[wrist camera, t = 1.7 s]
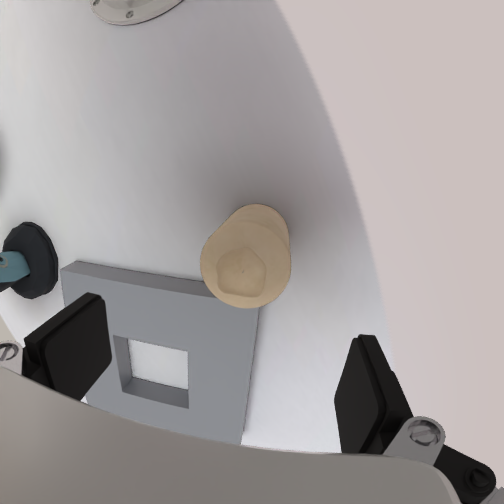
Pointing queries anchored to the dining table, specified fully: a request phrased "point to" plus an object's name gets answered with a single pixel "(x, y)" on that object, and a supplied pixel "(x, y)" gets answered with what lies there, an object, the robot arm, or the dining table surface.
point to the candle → (248, 257)
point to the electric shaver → (28, 262)
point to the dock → (176, 337)
